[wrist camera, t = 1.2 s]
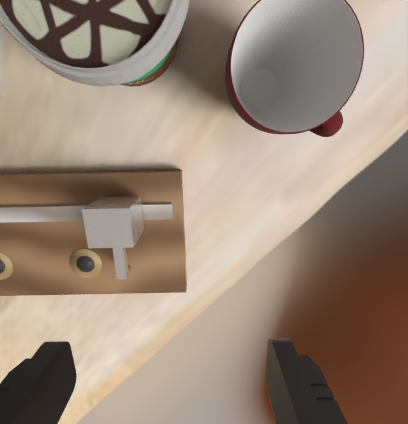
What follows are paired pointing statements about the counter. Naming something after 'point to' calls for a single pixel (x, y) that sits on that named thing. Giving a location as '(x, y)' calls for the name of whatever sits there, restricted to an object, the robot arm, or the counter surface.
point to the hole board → (76, 236)
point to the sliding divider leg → (114, 227)
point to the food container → (98, 37)
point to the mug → (295, 65)
